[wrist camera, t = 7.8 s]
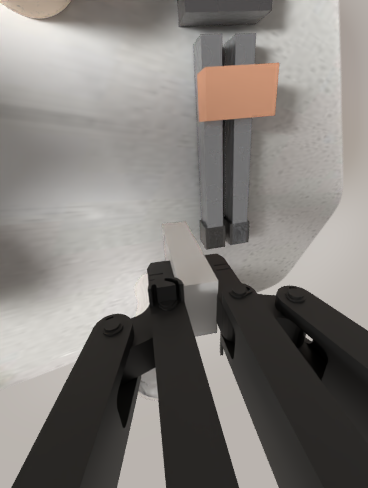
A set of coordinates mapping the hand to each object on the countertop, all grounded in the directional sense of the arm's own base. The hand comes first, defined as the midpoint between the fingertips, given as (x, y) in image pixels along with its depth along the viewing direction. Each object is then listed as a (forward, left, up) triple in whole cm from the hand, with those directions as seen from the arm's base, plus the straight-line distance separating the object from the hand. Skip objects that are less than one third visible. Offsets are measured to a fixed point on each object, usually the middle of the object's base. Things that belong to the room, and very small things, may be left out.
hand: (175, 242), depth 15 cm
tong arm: (+7, +3, -16) cm, 18 cm away
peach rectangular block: (+8, +9, -13) cm, 18 cm away
